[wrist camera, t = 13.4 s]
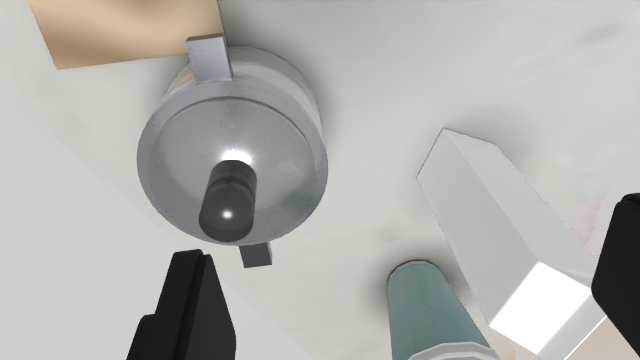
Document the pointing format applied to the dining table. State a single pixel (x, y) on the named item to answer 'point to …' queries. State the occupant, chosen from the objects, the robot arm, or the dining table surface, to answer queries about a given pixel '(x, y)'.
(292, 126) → the lid
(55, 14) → the trivet
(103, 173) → the dining table surface
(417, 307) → the disposable coffee cup
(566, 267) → the milk
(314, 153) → the pot
